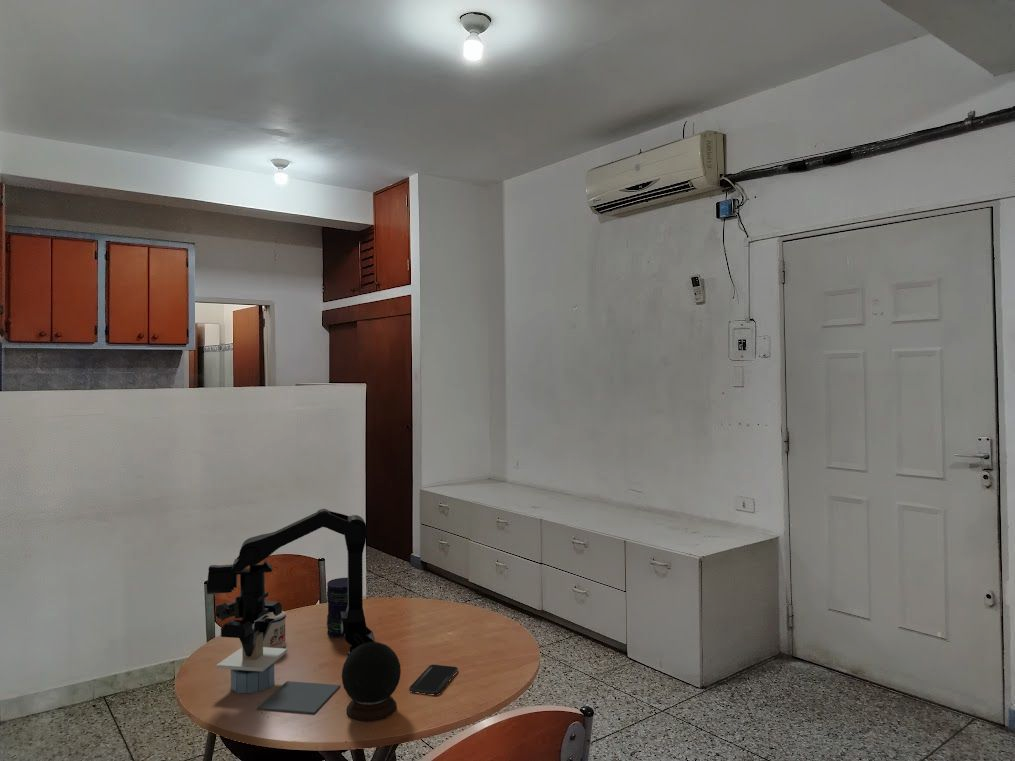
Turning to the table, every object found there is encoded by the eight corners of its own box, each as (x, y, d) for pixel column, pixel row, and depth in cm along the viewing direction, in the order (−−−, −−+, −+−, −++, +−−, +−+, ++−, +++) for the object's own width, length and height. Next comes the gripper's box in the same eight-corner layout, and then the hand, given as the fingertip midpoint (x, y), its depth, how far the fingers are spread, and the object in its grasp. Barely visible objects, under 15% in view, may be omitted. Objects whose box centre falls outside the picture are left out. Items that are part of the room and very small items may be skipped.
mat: (340, 686, 167) (340, 685, 167) (314, 714, 153) (314, 712, 153) (286, 682, 170) (286, 681, 170) (256, 709, 156) (256, 707, 156)
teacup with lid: (274, 655, 187) (274, 612, 187) (245, 652, 189) (245, 610, 189) (297, 639, 199) (297, 599, 199) (270, 636, 201) (270, 596, 201)
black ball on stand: (372, 691, 165) (372, 629, 165) (412, 706, 157) (412, 641, 157) (329, 713, 154) (329, 646, 154) (370, 730, 146) (370, 660, 146)
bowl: (281, 676, 173) (281, 659, 173) (260, 694, 163) (260, 675, 163) (245, 674, 175) (245, 656, 175) (222, 691, 165) (222, 672, 165)
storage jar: (349, 639, 198) (349, 588, 198) (320, 636, 201) (320, 585, 201) (366, 628, 207) (366, 578, 207) (338, 624, 210) (338, 576, 210)
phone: (407, 689, 164) (431, 664, 179) (407, 693, 164) (431, 668, 179) (438, 692, 162) (459, 667, 177) (438, 697, 162) (459, 671, 177)
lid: (287, 651, 174) (287, 627, 174) (262, 671, 162) (262, 644, 162) (244, 649, 176) (243, 624, 176) (216, 668, 164) (216, 642, 164)
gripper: (243, 578, 180) (243, 637, 180) (199, 600, 161) (200, 666, 161) (282, 580, 178) (283, 640, 178) (243, 602, 159) (243, 669, 159)
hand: (252, 653), depth 169 cm, fingers closed on lid, 3 cm apart
